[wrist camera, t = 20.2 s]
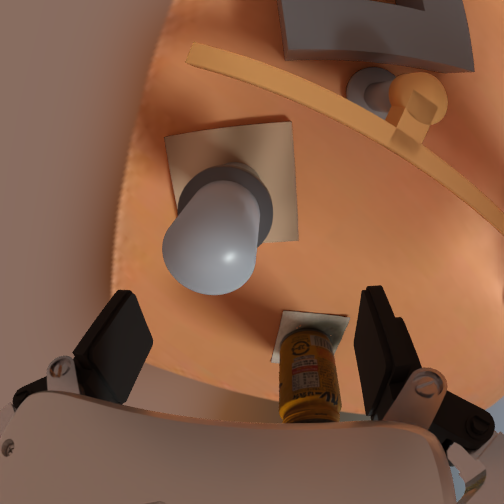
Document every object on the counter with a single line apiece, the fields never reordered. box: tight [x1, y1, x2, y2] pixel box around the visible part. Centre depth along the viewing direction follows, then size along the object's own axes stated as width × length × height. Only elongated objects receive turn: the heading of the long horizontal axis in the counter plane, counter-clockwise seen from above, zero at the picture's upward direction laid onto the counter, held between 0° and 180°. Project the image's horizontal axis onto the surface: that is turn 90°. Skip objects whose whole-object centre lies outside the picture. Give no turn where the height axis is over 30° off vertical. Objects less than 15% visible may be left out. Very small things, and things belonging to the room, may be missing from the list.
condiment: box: [271, 311, 350, 423], centre depth 26 cm, size 7×8×12 cm
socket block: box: [277, 0, 475, 120], centre depth 13 cm, size 14×20×6 cm
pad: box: [164, 121, 299, 243], centre depth 23 cm, size 10×10×1 cm
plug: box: [162, 162, 273, 295], centre depth 18 cm, size 6×6×11 cm
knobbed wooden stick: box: [185, 42, 504, 236], centre depth 13 cm, size 5×26×2 cm, turn 69°
